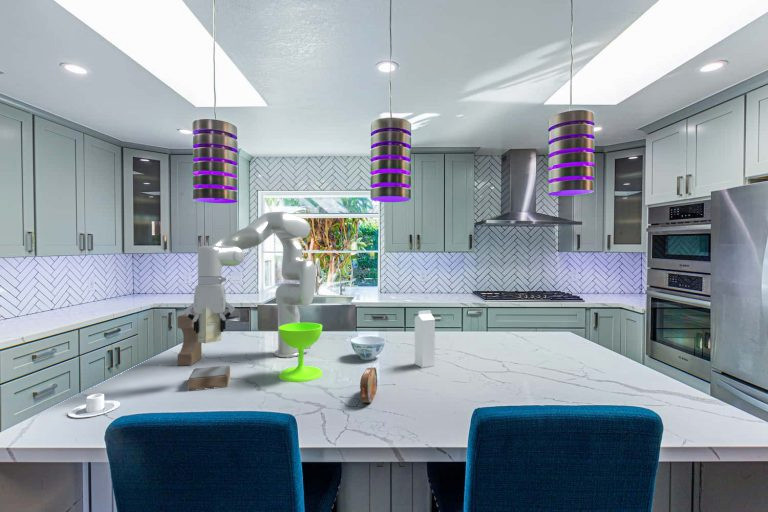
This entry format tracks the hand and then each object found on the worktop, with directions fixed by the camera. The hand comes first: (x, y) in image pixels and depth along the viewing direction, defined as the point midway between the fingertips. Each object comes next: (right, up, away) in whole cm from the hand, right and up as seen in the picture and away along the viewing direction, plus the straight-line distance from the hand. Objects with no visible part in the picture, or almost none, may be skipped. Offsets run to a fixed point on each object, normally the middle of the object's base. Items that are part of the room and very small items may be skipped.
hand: (209, 331), depth 132 cm
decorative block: (-20, -18, +25) cm, 37 cm away
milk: (+77, -18, +22) cm, 82 cm away
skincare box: (0, -4, 0) cm, 4 cm away
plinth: (0, -18, 0) cm, 18 cm away
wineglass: (+30, -18, +9) cm, 36 cm away
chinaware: (+54, -18, +32) cm, 65 cm away
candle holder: (-23, -19, -22) cm, 37 cm away
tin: (+56, -18, -13) cm, 60 cm away
